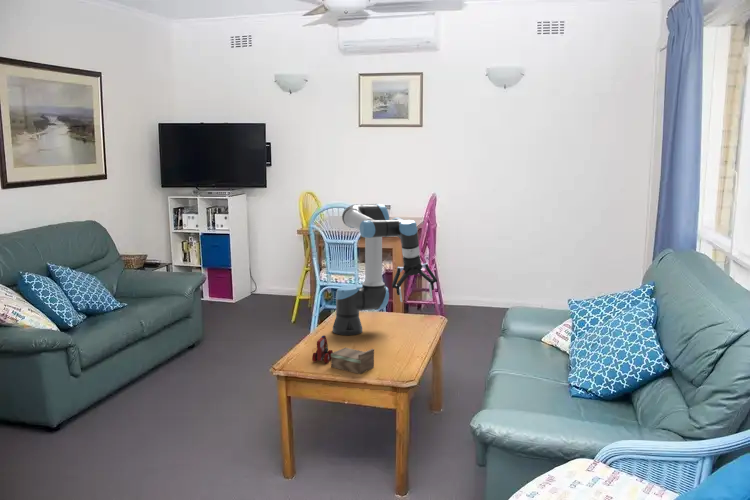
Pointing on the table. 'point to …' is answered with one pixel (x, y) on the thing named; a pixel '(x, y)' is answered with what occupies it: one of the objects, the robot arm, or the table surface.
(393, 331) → the table surface
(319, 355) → the toy fire truck
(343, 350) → the stand
